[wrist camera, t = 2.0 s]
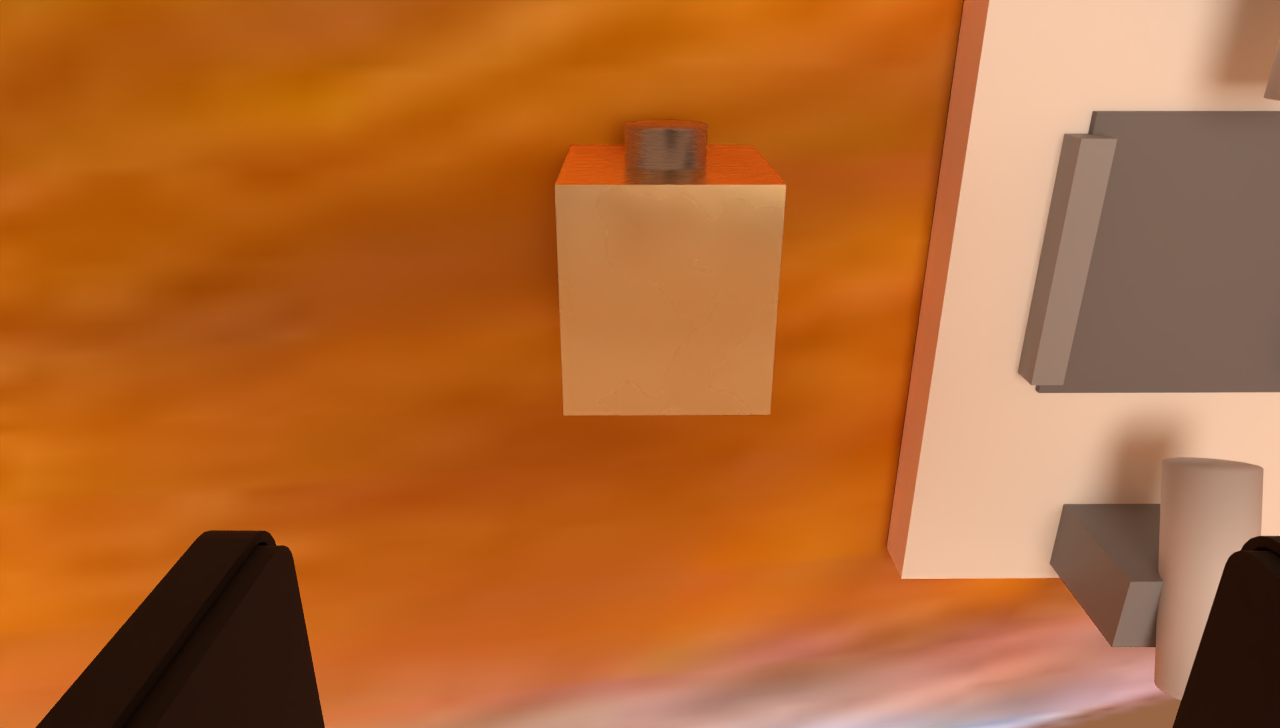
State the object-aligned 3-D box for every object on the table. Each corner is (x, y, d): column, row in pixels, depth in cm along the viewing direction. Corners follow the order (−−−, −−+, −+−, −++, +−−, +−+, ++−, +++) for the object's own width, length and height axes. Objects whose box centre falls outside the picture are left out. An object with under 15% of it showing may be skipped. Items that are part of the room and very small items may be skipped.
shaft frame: (990, -187, 18) (1180, -286, 12) (1540, -184, 18) (2013, -280, 12) (885, 556, 26) (967, 734, 20) (1274, 554, 26) (1479, 729, 20)
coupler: (569, 110, 21) (552, 142, 16) (753, 111, 21) (789, 142, 16) (577, 359, 23) (564, 448, 19) (740, 358, 23) (767, 447, 19)
